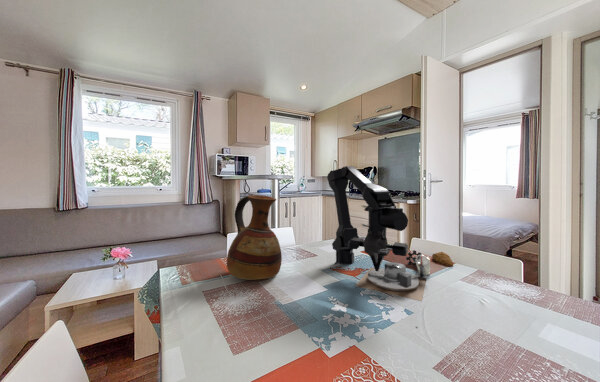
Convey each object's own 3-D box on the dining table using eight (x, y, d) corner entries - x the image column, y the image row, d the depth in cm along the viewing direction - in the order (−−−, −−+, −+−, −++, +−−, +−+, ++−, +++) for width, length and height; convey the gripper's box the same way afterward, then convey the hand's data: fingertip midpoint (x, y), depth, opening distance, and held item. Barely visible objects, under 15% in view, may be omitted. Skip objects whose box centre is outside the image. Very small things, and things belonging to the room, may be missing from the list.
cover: (400, 284, 73) (400, 270, 72) (379, 277, 78) (379, 265, 78) (410, 278, 77) (410, 265, 77) (390, 272, 82) (390, 260, 82)
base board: (354, 289, 76) (354, 285, 76) (371, 270, 92) (371, 266, 92) (421, 304, 66) (421, 300, 66) (427, 280, 82) (427, 276, 82)
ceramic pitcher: (267, 290, 76) (265, 196, 74) (214, 282, 82) (212, 195, 81) (290, 269, 94) (288, 193, 93) (245, 264, 101) (243, 193, 100)
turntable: (404, 296, 68) (404, 280, 68) (358, 279, 80) (358, 266, 79) (427, 281, 78) (427, 267, 78) (383, 268, 90) (383, 256, 90)
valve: (436, 278, 83) (422, 266, 95) (436, 260, 83) (422, 250, 95) (416, 278, 84) (405, 266, 96) (416, 259, 84) (405, 249, 96)
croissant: (425, 258, 105) (425, 247, 105) (441, 258, 105) (441, 247, 105) (441, 269, 92) (441, 256, 91) (460, 269, 91) (460, 257, 91)
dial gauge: (414, 278, 81) (414, 255, 81) (415, 275, 84) (415, 252, 83) (428, 280, 79) (428, 256, 79) (428, 277, 81) (428, 254, 81)
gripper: (342, 227, 79) (342, 273, 79) (403, 232, 69) (402, 285, 70) (353, 221, 88) (353, 263, 89) (408, 226, 78) (408, 273, 79)
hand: (377, 270), depth 81 cm, fingers closed
